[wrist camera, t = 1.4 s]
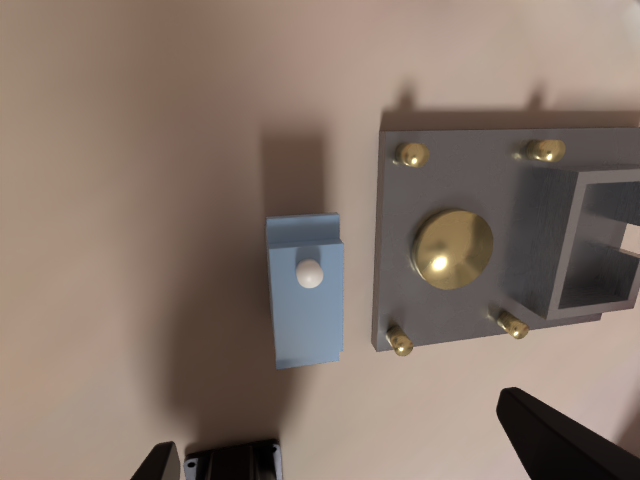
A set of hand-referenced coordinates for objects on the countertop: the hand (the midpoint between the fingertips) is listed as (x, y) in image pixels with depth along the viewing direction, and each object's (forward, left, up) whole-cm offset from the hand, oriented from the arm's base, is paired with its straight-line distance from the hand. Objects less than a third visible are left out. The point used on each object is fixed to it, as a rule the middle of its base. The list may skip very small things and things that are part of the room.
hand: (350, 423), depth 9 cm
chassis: (0, -14, -12) cm, 19 cm away
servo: (-1, 0, -12) cm, 12 cm away
